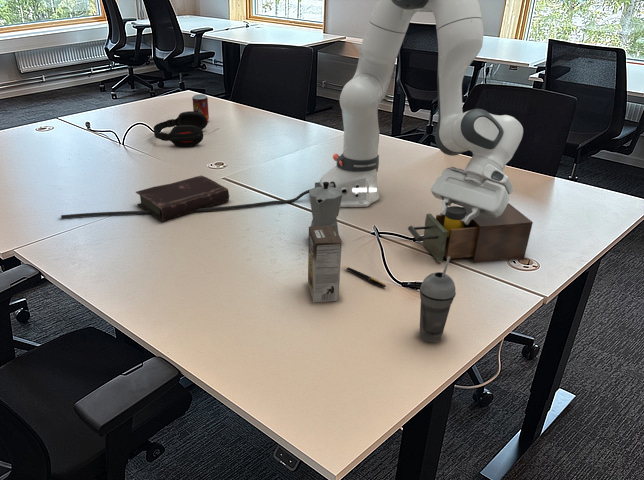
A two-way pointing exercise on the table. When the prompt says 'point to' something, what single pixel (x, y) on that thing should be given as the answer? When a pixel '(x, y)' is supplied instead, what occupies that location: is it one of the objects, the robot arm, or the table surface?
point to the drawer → (446, 238)
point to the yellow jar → (454, 218)
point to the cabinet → (501, 235)
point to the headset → (183, 129)
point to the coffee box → (324, 263)
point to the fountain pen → (366, 277)
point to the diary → (182, 197)
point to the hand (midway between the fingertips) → (453, 219)
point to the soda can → (201, 104)
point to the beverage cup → (435, 304)
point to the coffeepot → (325, 205)
